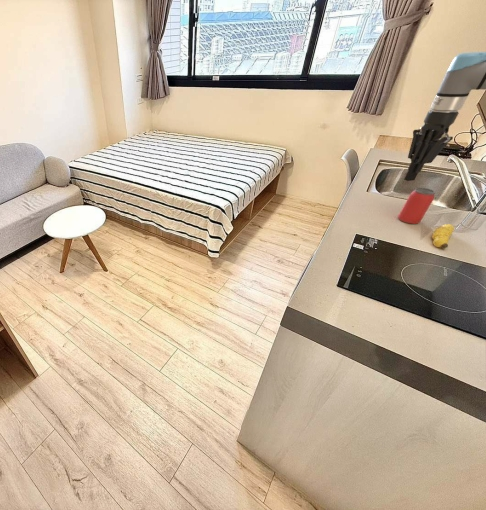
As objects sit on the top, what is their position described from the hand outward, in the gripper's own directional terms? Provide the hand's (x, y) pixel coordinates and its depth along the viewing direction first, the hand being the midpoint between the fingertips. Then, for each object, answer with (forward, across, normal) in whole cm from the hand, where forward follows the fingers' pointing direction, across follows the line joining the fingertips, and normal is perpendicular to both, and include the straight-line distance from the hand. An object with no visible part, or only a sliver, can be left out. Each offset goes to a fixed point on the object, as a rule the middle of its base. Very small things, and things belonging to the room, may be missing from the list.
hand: (409, 179), depth 104 cm
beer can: (+13, +8, 0) cm, 15 cm away
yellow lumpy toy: (+13, +20, -1) cm, 24 cm away
